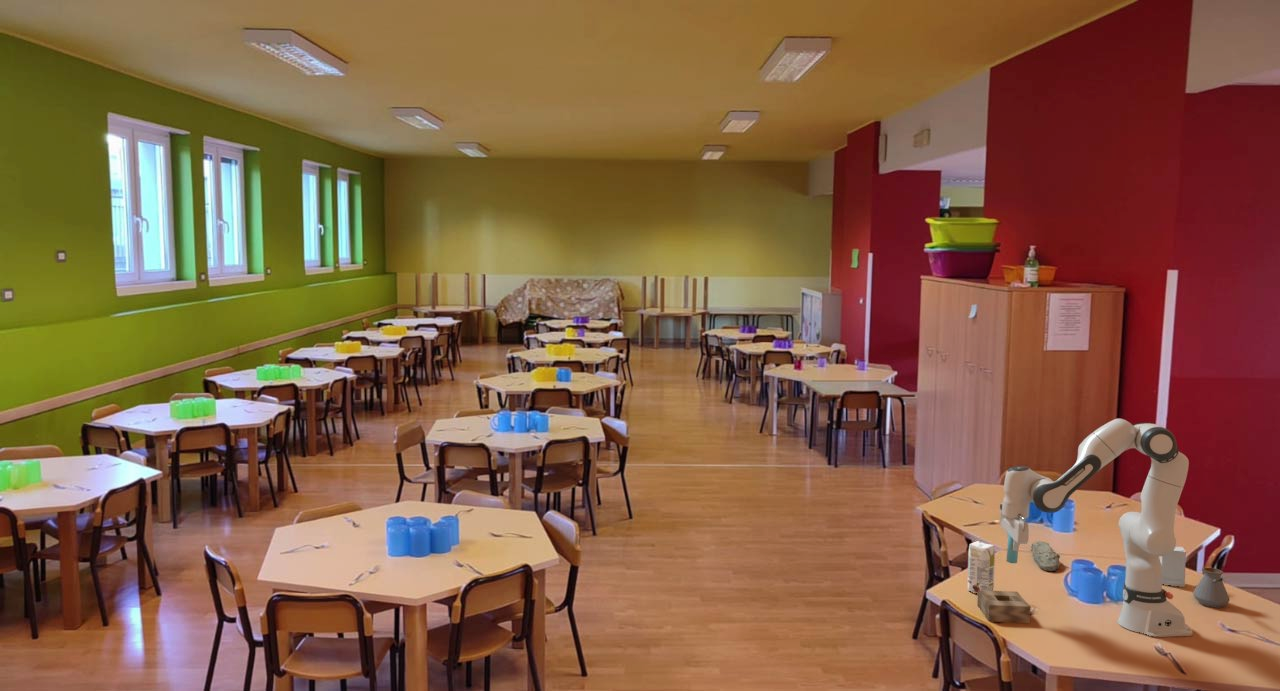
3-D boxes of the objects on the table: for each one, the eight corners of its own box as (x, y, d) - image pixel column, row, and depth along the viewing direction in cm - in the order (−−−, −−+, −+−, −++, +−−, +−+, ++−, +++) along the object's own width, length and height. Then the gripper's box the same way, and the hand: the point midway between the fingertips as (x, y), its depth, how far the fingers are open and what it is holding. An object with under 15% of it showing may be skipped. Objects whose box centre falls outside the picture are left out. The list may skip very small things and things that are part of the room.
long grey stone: (1051, 550, 385) (1027, 549, 388) (1051, 539, 385) (1027, 538, 388) (1063, 573, 352) (1037, 571, 355) (1063, 560, 352) (1037, 559, 355)
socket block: (1016, 607, 318) (1017, 591, 317) (1029, 622, 304) (1030, 606, 303) (977, 605, 319) (977, 590, 319) (988, 621, 305) (989, 605, 305)
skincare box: (1182, 583, 342) (1184, 546, 340) (1185, 588, 336) (1187, 551, 335) (1157, 580, 345) (1160, 544, 344) (1160, 585, 340) (1162, 548, 338)
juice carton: (985, 597, 327) (987, 549, 325) (964, 591, 334) (966, 543, 332) (995, 592, 332) (997, 545, 330) (974, 586, 338) (976, 539, 337)
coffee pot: (1189, 595, 329) (1192, 557, 327) (1225, 600, 324) (1228, 562, 323) (1200, 616, 309) (1203, 576, 308) (1238, 622, 305) (1241, 581, 303)
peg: (1015, 560, 313) (1017, 528, 311) (1018, 563, 309) (1020, 531, 308) (1005, 559, 313) (1007, 527, 312) (1008, 563, 309) (1010, 530, 308)
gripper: (1034, 519, 298) (1031, 558, 300) (1015, 503, 319) (1013, 539, 320) (1015, 518, 299) (1013, 557, 300) (998, 502, 319) (995, 538, 321)
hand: (1012, 548), depth 310 cm, fingers closed on peg, 4 cm apart
